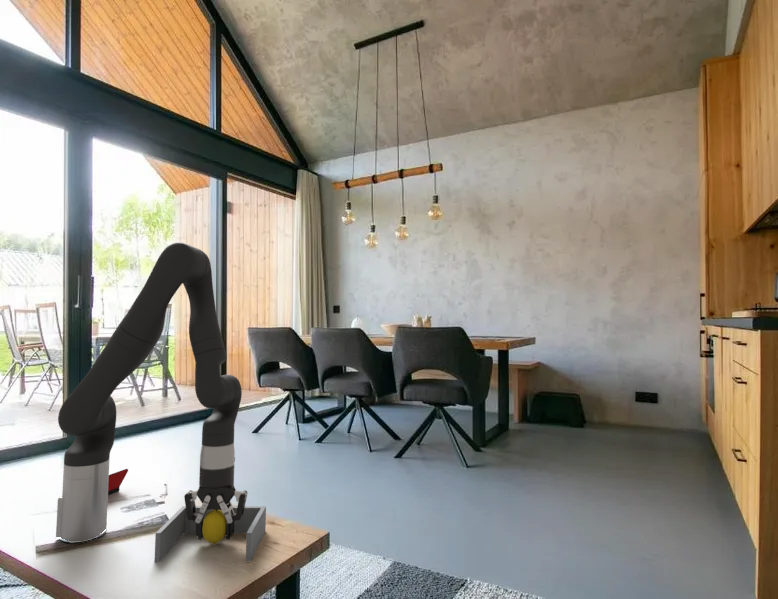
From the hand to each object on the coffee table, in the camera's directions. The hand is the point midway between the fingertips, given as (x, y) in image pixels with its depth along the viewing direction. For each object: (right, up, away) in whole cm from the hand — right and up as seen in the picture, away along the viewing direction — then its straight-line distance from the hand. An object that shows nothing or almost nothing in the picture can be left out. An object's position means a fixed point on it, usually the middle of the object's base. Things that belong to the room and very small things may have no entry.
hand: (214, 537), depth 110 cm
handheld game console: (-44, -3, +28) cm, 52 cm away
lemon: (0, -2, 0) cm, 2 cm away
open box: (0, -1, -1) cm, 2 cm away
